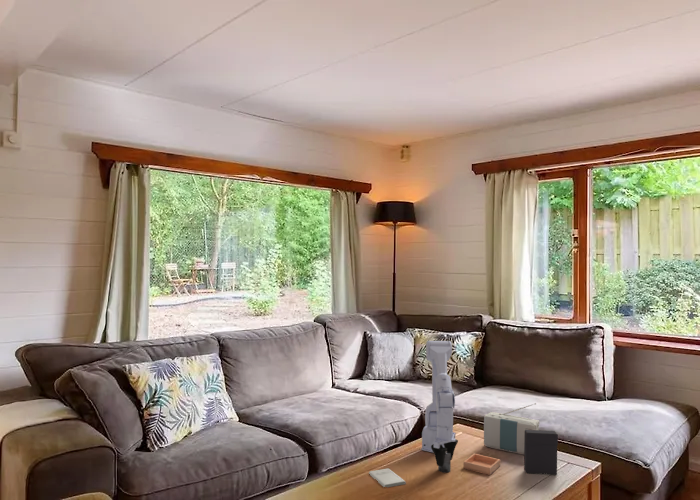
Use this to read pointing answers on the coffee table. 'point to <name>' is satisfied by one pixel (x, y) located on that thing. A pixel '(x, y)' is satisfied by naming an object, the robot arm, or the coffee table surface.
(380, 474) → the external hard drive
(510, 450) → the stereo radio cassette player
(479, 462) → the dish
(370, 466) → the coffee table surface
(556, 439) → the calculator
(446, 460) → the cell
